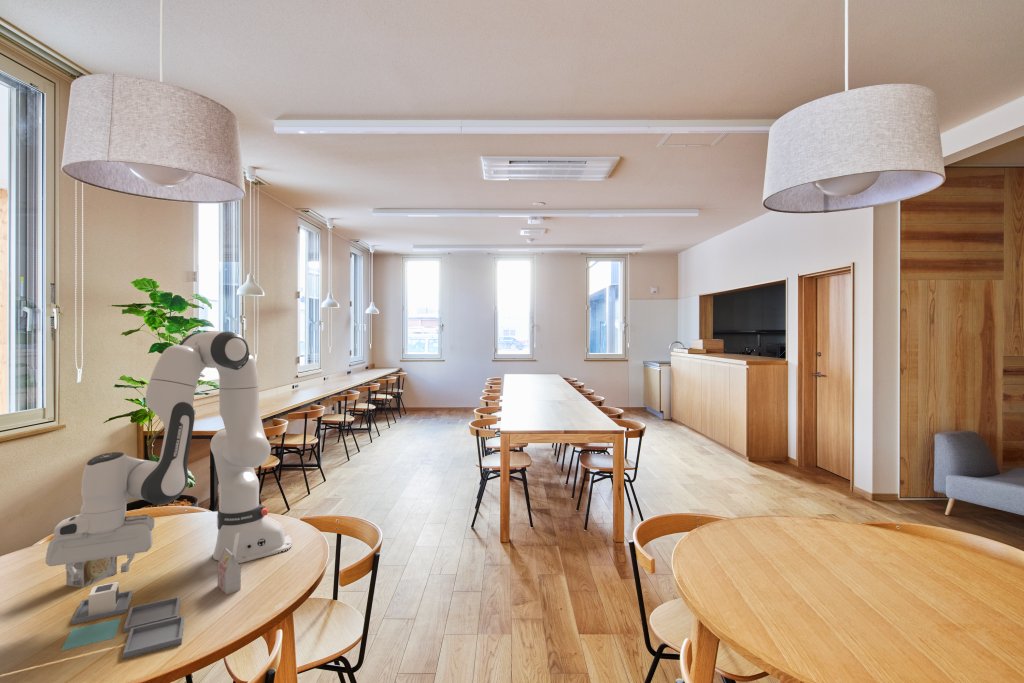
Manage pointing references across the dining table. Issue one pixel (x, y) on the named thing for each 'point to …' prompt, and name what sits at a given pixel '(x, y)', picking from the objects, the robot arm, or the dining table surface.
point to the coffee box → (93, 571)
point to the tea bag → (229, 573)
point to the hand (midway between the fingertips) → (100, 575)
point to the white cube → (103, 598)
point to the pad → (91, 634)
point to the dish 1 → (121, 608)
